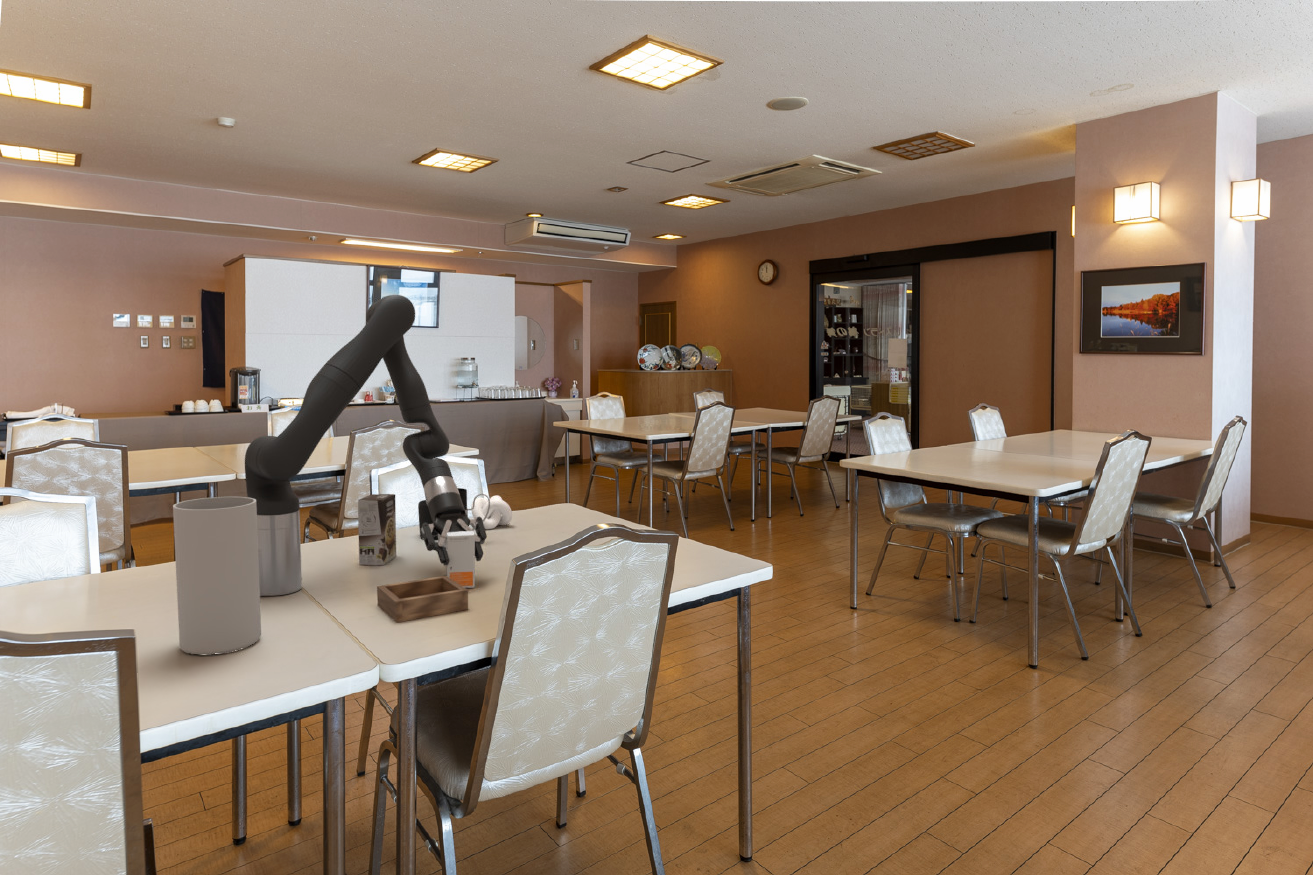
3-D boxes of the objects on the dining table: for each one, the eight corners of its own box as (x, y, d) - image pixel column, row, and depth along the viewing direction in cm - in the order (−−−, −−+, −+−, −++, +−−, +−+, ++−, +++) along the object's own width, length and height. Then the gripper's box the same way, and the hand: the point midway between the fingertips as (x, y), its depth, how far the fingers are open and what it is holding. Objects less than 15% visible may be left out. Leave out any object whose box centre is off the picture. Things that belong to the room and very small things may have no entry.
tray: (396, 622, 150) (395, 601, 150) (377, 605, 160) (377, 586, 160) (468, 609, 158) (468, 590, 158) (446, 593, 169) (446, 575, 168)
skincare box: (447, 589, 172) (446, 535, 170) (446, 584, 176) (446, 531, 174) (475, 588, 173) (475, 534, 172) (474, 582, 177) (474, 530, 176)
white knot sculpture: (517, 523, 241) (517, 494, 240) (505, 531, 229) (505, 501, 229) (482, 522, 243) (482, 493, 242) (468, 530, 231) (467, 500, 230)
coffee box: (384, 565, 191) (383, 499, 189) (358, 565, 191) (356, 499, 189) (397, 556, 200) (396, 493, 198) (372, 555, 200) (371, 493, 198)
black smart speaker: (412, 539, 219) (411, 503, 218) (429, 532, 228) (429, 498, 227) (442, 541, 216) (442, 505, 215) (459, 534, 225) (458, 499, 224)
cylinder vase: (273, 631, 144) (268, 496, 142) (240, 657, 132) (234, 510, 130) (204, 631, 144) (198, 496, 142) (164, 657, 132) (156, 509, 129)
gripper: (416, 493, 174) (435, 556, 166) (478, 488, 183) (499, 547, 174) (409, 513, 179) (427, 575, 171) (469, 507, 187) (489, 566, 179)
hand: (463, 561), depth 173 cm, fingers closed on skincare box, 7 cm apart
